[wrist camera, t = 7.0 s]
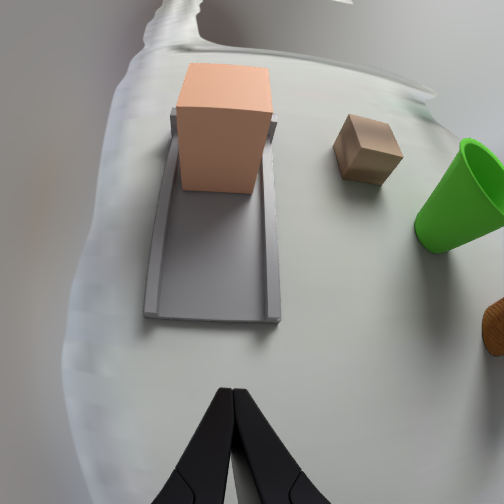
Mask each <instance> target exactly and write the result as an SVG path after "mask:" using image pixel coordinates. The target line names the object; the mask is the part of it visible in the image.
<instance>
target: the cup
mask: <svg viewBox="0 0 504 504" xmlns="http://www.w3.org/2000/svg"><path fill="white" fill-rule="evenodd" d="M459 147H460V150H459V152H458V153H457V155H456V157H455V158H454V160H453V162H452V163H451V165H450V167H449V168H448V170H447V171H446V173H445V174H444V176H443V178H442V179H441V181H440V182H439V184H438V185H437V187H436V188H435V190H434V191H433V193H432V194H431V196H430V197H429V199H428V200H427V202H426V203H425V205H424V206H423V207H422V209H421V210H420V212H419V213H418V214H417V217H416V220H415V231H416V234H417V237H418V239H419V240H420V242H421V243H422V245H423V246H424V247H425V248H426V249H427V250H429V251H431V252H433V253H444V252H447V251H449V250H451V249H454V248H456V247H459V246H461V245H463V244H466V243H468V242H470V241H472V240H475V239H477V238H479V237H482V236H484V235H486V234H488V233H490V232H493V231H495V230H497V229H499V228H501V227H503V226H504V166H503V164H502V163H501V162H500V161H499V160H498V158H497V157H496V156H495V155H494V154H493V153H492V152H491V151H490V150H489V149H488V148H487V147H485V146H484V145H483V144H482V143H480V142H478V141H476V140H474V139H471V138H465V139H463V140H462V141H460V146H459Z"/></svg>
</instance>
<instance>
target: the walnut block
mask: <svg viewBox="0 0 504 504" xmlns="http://www.w3.org/2000/svg"><path fill="white" fill-rule="evenodd" d="M333 146H334V150H335V153H336V157H337V161H338V165H339V169H340V173H341V177H342V179H345V180H352V181H359V182H365V183H371V184H377V185H382V184H383V183H384V182H385V180H386V179H387V178H388V177H389V175H390V174H391V173H392V171H393V170H394V169H395V168H396V166H397V165H398V164H399V162H400V161H401V160H402V159H403V155H402V153H401V150H400V148H399V146H398V143H397V141H396V139H395V137H394V135H393V132H392V130H391V128H390V126H389V124H386V123H383V122H379V121H375V120H372V119H368V118H364V117H360V116H356V115H352V114H349V115H348V117H347V119H346V121H345V123H344V125H343V127H342V129H341V131H340V133H339V135H338V137H337V139H336V141H335V143H334V145H333Z"/></svg>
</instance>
